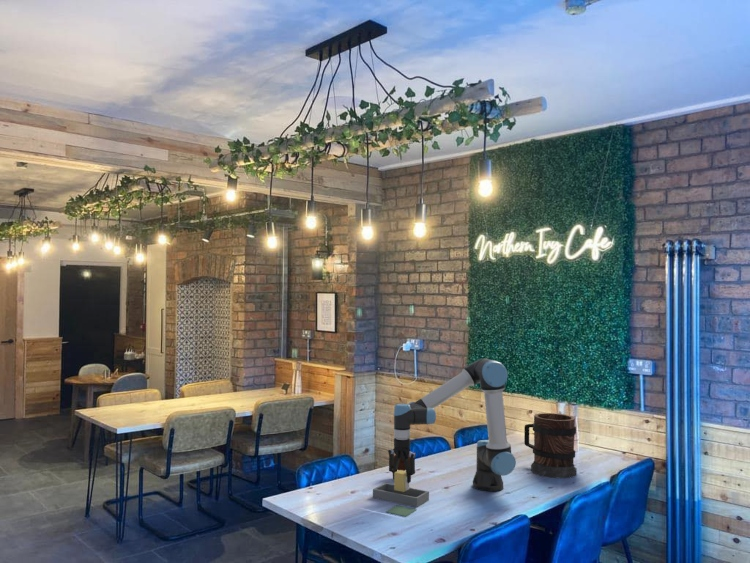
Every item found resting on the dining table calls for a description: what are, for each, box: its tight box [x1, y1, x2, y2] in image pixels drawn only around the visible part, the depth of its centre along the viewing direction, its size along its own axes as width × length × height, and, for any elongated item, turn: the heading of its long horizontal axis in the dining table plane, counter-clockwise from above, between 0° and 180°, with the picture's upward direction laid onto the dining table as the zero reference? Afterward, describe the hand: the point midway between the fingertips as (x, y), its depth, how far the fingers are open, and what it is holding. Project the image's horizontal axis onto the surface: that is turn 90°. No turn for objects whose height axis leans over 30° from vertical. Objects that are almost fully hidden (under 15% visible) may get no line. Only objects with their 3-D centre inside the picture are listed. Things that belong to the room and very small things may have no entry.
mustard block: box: [393, 470, 407, 492], centre depth 286 cm, size 5×5×8 cm
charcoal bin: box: [372, 482, 430, 509], centre depth 285 cm, size 23×12×4 cm, turn 59°
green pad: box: [385, 504, 418, 518], centre depth 269 cm, size 10×10×1 cm
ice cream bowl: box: [394, 454, 410, 471], centre depth 319 cm, size 11×11×15 cm
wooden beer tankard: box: [523, 412, 578, 479], centre depth 341 cm, size 24×30×30 cm
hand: (401, 488), depth 286 cm, fingers closed on mustard block, 5 cm apart
